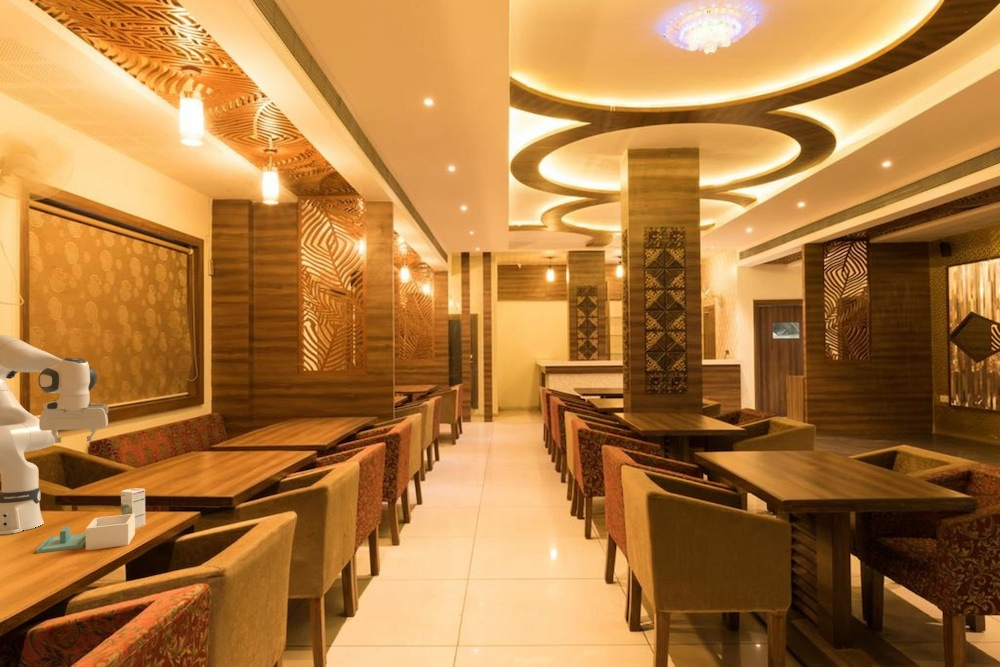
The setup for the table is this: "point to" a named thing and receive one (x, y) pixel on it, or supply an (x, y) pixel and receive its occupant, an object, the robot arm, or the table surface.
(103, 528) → the tub
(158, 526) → the table surface
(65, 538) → the lid
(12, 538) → the table surface
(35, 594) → the table surface
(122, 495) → the syrup box
